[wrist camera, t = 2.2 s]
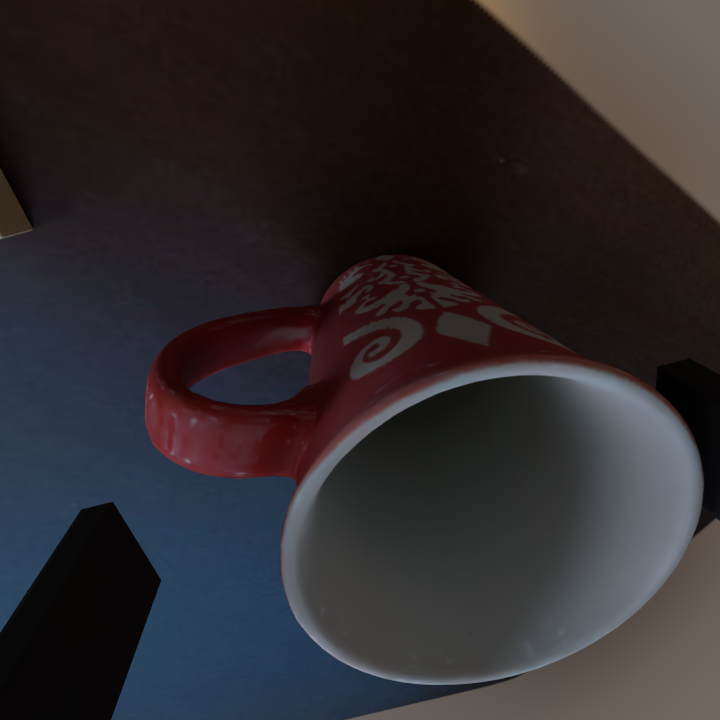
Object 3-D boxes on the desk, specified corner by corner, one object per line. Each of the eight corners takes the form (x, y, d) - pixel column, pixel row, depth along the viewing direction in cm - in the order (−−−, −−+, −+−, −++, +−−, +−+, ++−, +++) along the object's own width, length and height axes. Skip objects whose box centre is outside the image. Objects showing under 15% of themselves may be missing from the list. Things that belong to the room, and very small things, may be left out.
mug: (518, 270, 21) (808, 437, 9) (438, 427, 24) (564, 708, 12) (251, 167, 18) (111, 197, 6) (202, 361, 21) (47, 641, 9)
